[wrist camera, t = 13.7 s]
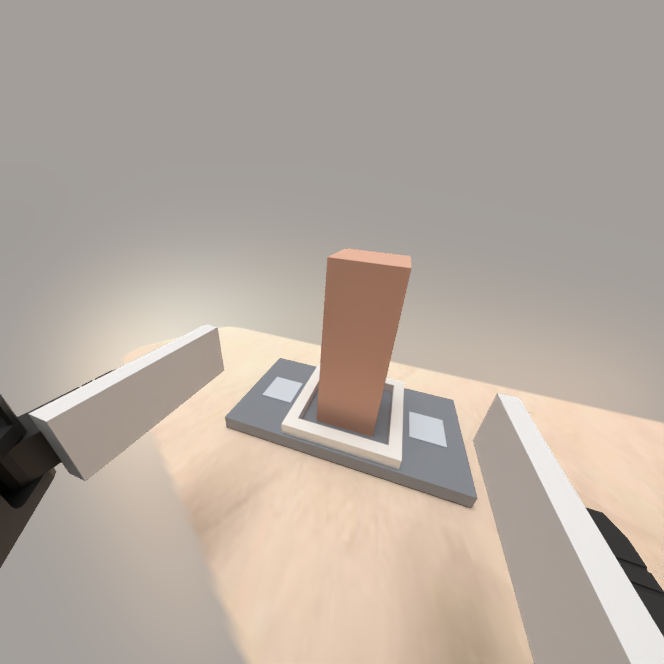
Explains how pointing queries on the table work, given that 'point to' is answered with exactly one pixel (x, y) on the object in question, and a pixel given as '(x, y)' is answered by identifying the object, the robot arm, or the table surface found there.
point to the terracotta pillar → (359, 335)
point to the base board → (358, 449)
